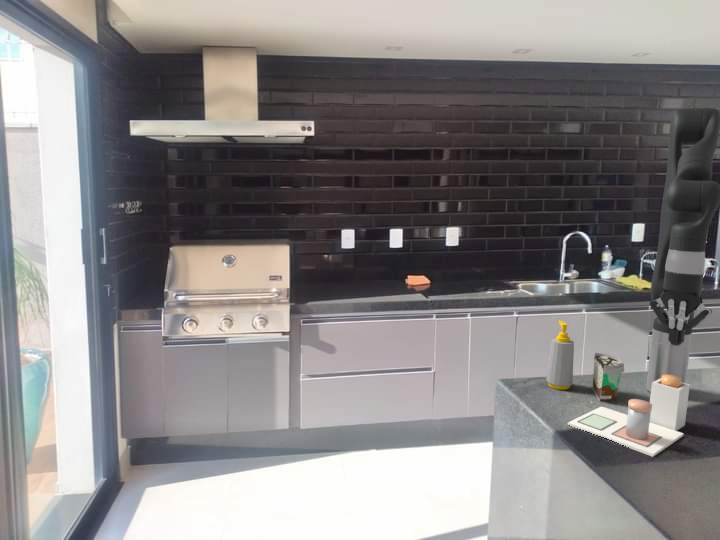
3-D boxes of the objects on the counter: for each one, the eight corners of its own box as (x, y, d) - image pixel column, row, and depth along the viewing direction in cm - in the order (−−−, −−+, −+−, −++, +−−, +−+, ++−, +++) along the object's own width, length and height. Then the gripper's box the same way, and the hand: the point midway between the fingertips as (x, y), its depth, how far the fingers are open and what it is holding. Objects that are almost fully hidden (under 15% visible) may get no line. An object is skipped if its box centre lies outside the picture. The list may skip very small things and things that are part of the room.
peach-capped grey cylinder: (630, 429, 126) (634, 397, 125) (651, 436, 123) (655, 404, 122) (621, 434, 123) (624, 402, 122) (642, 442, 120) (646, 408, 119)
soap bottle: (566, 381, 158) (571, 320, 155) (576, 390, 151) (582, 326, 149) (542, 381, 158) (547, 319, 155) (551, 390, 151) (556, 326, 148)
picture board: (600, 408, 139) (601, 405, 139) (683, 435, 125) (683, 432, 125) (567, 425, 129) (567, 422, 129) (653, 456, 115) (653, 453, 115)
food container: (626, 406, 142) (630, 368, 140) (600, 403, 143) (604, 366, 141) (614, 389, 154) (618, 354, 152) (591, 386, 155) (594, 352, 153)
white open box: (657, 416, 135) (662, 377, 134) (684, 425, 131) (689, 384, 129) (647, 423, 132) (651, 382, 130) (674, 432, 127) (679, 390, 125)
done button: (664, 383, 133) (665, 373, 132) (683, 388, 130) (684, 378, 129) (657, 386, 130) (658, 376, 130) (676, 392, 127) (677, 381, 127)
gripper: (723, 273, 123) (713, 349, 126) (660, 265, 133) (652, 335, 136) (711, 275, 118) (701, 354, 121) (646, 267, 128) (638, 340, 131)
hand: (675, 344), depth 128 cm, fingers closed
